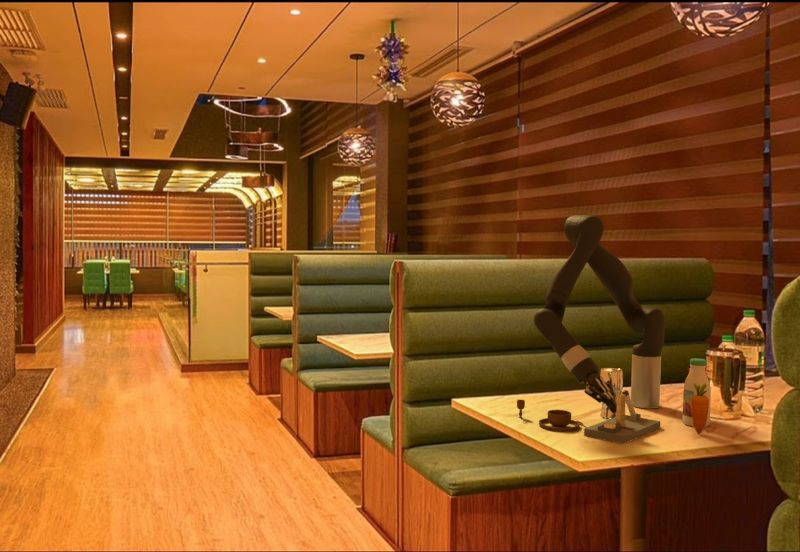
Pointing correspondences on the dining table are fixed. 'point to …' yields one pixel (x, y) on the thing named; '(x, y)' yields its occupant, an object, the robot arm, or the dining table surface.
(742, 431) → the dining table surface
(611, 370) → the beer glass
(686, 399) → the milk bottle
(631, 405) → the toggle lever
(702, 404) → the carrot
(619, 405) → the block
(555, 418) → the place setting
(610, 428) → the push button
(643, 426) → the switch panel
